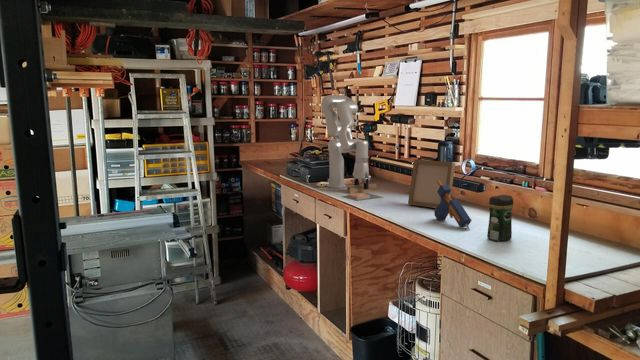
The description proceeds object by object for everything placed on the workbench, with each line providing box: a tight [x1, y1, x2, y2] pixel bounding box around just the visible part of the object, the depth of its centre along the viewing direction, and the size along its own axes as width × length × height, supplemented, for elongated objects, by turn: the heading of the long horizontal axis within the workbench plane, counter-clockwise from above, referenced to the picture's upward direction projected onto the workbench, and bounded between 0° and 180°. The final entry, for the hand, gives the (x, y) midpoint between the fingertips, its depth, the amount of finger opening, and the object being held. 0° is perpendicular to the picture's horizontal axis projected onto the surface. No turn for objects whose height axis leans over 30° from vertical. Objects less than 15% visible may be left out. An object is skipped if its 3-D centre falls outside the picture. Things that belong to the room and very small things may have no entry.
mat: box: [340, 192, 384, 202], centre depth 290 cm, size 16×20×1 cm
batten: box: [346, 183, 377, 194], centre depth 305 cm, size 3×20×5 cm, turn 122°
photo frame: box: [407, 159, 456, 209], centre depth 266 cm, size 15×22×25 cm
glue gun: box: [433, 180, 472, 231], centre depth 232 cm, size 6×31×15 cm
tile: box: [347, 192, 370, 199], centre depth 288 cm, size 9×2×9 cm
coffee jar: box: [486, 194, 514, 242], centre depth 204 cm, size 10×8×19 cm
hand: (361, 188), depth 305 cm, fingers open, 9 cm apart
